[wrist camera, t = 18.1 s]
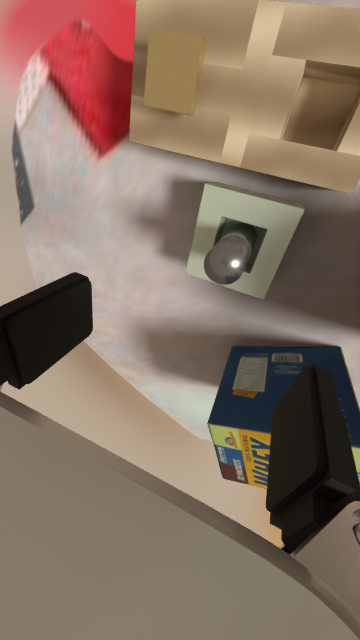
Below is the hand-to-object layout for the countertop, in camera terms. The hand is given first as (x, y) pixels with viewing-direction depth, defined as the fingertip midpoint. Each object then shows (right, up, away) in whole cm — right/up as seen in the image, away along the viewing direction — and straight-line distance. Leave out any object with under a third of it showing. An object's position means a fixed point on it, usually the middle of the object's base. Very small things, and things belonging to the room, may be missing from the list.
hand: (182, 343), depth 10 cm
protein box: (+16, -7, +28) cm, 33 cm away
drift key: (+1, +23, +13) cm, 27 cm away
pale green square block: (+8, +12, +20) cm, 24 cm away
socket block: (+7, +22, +14) cm, 27 cm away
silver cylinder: (+7, +11, +19) cm, 23 cm away
